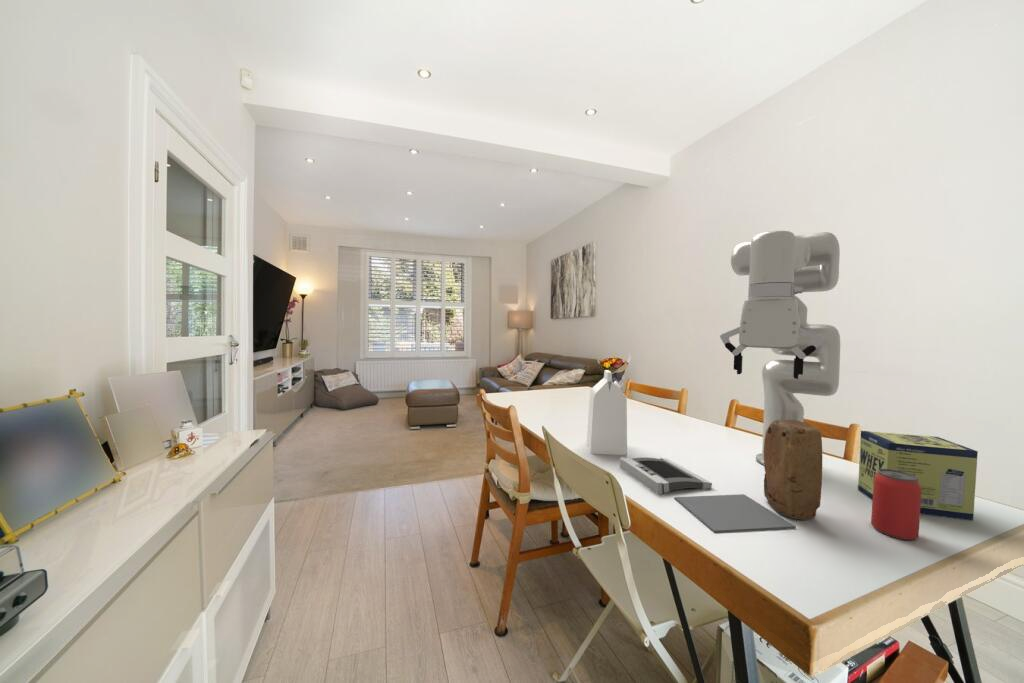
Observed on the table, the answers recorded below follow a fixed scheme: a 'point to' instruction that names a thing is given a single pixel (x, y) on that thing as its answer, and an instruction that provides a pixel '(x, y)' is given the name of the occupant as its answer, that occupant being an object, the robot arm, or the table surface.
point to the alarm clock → (662, 474)
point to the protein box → (923, 470)
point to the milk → (607, 418)
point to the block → (793, 468)
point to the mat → (732, 513)
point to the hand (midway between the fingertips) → (766, 375)
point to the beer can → (896, 504)
